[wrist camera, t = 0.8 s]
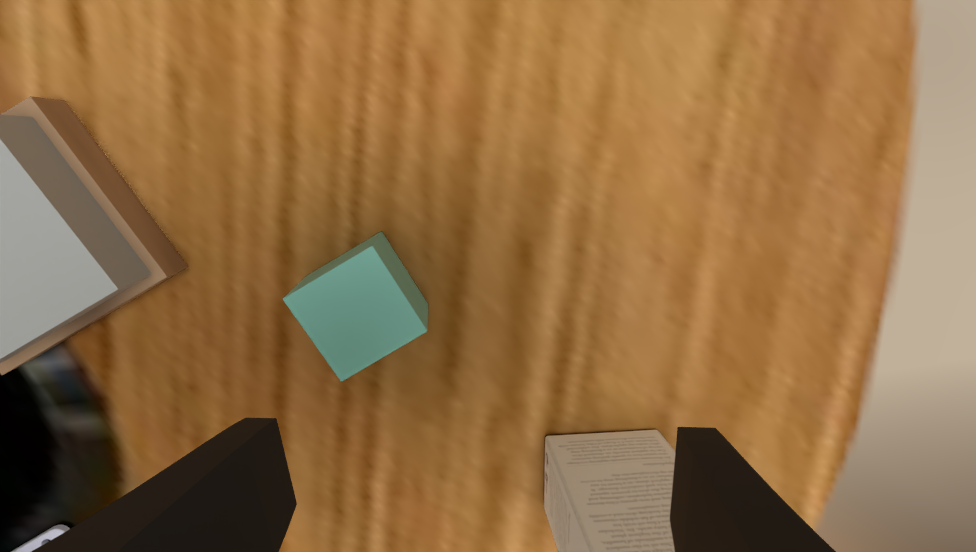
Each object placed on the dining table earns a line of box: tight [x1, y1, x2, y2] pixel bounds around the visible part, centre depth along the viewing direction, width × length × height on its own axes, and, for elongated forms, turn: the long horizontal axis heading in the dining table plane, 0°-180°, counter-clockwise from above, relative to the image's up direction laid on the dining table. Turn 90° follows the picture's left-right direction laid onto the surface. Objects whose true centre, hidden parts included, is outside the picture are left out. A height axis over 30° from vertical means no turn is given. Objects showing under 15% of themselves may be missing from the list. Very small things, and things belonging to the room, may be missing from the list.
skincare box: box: [544, 430, 676, 552], centre depth 23 cm, size 6×4×12 cm
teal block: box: [283, 231, 428, 382], centre depth 24 cm, size 4×4×4 cm
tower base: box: [0, 96, 188, 375], centre depth 23 cm, size 8×8×2 cm
